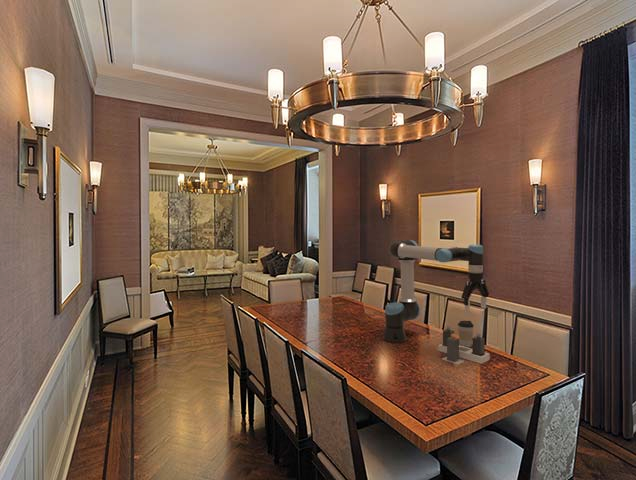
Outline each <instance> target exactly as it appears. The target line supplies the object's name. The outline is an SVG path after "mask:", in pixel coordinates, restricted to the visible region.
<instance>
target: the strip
mask: <svg viewBox="0 0 636 480" xmlns="http://www.w3.org/2000/svg"><path fill="white" fill-rule="evenodd" d="M451 334H455V331H454V330H453V329H451V326H449V325H448V326H446V328H445V329H444V330H442V343H440V344H438V345H437V352H439V353H444V354H445V355H447V338H449V337H451ZM485 343H486V342H485V338H484V337H482V336H481V333H479V332H477V333H476V336H473V338H472V347H464V346H460V344H459V359H461V360H464V361H465V360H466V361H469V362H472V363H475V364H479V365H483V364H485V363H487V362H489V361H491V360H490V358H491V357H490V356H491V355H490V353H488V352H485V345H486V344H485Z"/></svg>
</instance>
